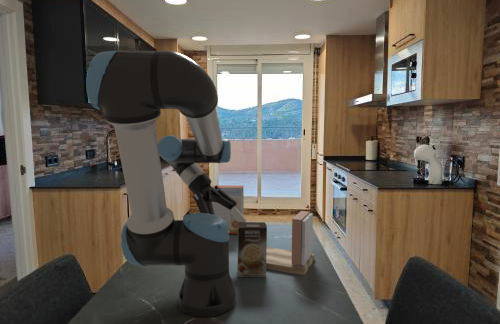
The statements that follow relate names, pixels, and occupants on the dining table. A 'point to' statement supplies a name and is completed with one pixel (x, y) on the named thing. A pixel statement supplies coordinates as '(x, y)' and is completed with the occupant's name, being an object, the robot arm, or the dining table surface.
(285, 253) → the shelf board
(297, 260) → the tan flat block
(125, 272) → the dining table surface
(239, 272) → the coffee box
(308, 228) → the bookend
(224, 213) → the cracker box
